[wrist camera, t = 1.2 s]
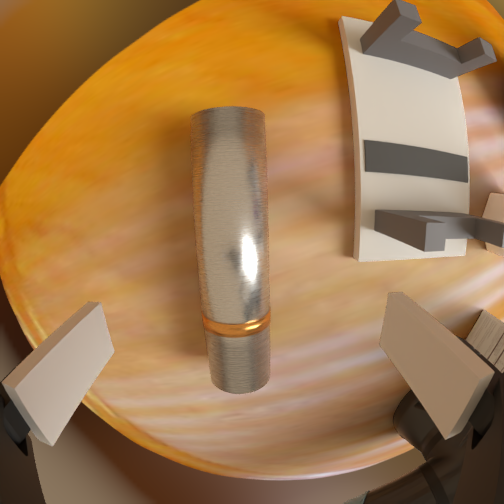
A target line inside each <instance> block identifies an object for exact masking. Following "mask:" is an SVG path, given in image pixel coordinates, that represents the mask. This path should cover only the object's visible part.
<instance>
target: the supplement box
mask: <svg viewBox="0 0 504 504" xmlns="http://www.w3.org/2000/svg"><path fill="white" fill-rule="evenodd" d="M466 341H467V342H468V343H469V344H471V345H472V346H473V347H474V349H476V350H477V351H479V352H480V354H482V355H483V356H484V357H485V358H486V359H487V360H489V361H490V362H491V363H492V364H493V365H494V366H495V367H496V368H497V369H498V370H499V371H500V372H501V373H503V372H504V323H503V322H502V321H500V320H499V319H497V318H496V317H494V316H493V315H491V314H490V313H488V312H487V311H485V310H483V311H482V313H481V315H480V317H479V318H478V320H477V322H476V323H475V325H474V327H473V328H472V330H471V332H470V333H469V335H468V337H467V338H466Z"/></svg>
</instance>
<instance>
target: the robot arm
mask: <svg viewBox="0 0 504 504" xmlns="http://www.w3.org/2000/svg"><path fill="white" fill-rule="evenodd" d="M379 345H380V346H381V348H382V349H383V350H384V352H385V353H386V354H387V356H388V357H389V358H390V360H391V361H392V363H393V364H394V365H395V367H396V368H397V369H398V371H399V372H400V374H401V375H402V376H403V378H404V379H405V381H406V382H407V384H408V385H409V386H410V388H411V389H412V390H411V391H410V392H409V393H408V394H407V395H406V396H405V398H404V399H403V400H402V402H401V403H400V404H399V406H398V408H397V410H396V412H395V414H394V418H393V424H394V426H395V428H396V430H397V432H398V434H399V435H400V436H401V437H402V438H404V439H406V440H407V441H408V442H409V443H410V444H411V445H413V446H414V447H415V448H416V449H418V450H419V451H420V452H421V453H422V455H423V456H424V458H425V460H426V463H424V464H422V465H420V466H419V467H417V468H415V469H414V470H412V471H410V472H408V473H406V474H405V475H403V476H401V477H399V478H397V479H395V480H393V481H391V482H389V483H387V484H385V485H382V486H380V487H378V488H376V489H373V490H371V491H366V492H365V493H364V494H362V495H360V496H358V497H356V498H353V499H351V500H348V501H346V502H344V503H343V504H504V372H503V373H501V372H500V371H499V370H498V369H497V368H496V367H495V366H494V365H493V364H492V363H491V362H490V361H489V360H487V359H486V358H485V357H484V356H483V355H482V354H480V352H479V351H477V350H476V349H474V347H473V346H472V345H471V344H469V343H468V342H467V341H466V340H464V339H462V338H460V337H458V336H455V335H454V334H453V333H451V332H450V331H449V330H448V329H447V328H446V327H444V326H443V325H442V324H441V323H440V322H439V321H437V320H436V319H435V318H434V317H433V316H431V315H430V314H429V313H428V312H427V311H425V310H424V309H423V308H422V307H420V306H419V305H418V304H417V303H415V302H414V301H413V300H412V299H410V298H409V297H408V296H407V295H405V294H404V293H403V292H394V293H388V298H387V305H386V311H385V317H384V322H383V327H382V332H381V337H380V342H379ZM114 352H115V351H114V348H113V345H112V341H111V338H110V334H109V331H108V327H107V324H106V320H105V316H104V312H103V308H102V304H101V302H88V303H86V304H85V305H84V306H83V307H82V308H80V309H79V310H78V311H77V312H76V313H75V314H74V315H72V316H71V317H70V318H69V319H68V320H67V321H66V322H64V323H63V324H62V325H61V326H60V327H59V328H58V329H57V330H55V331H54V332H53V333H52V334H51V335H50V336H49V337H48V338H47V339H46V340H44V341H43V342H42V343H41V344H40V345H39V346H38V347H37V348H36V349H35V350H34V351H33V352H31V353H30V354H28V355H27V356H26V357H25V358H24V359H23V361H22V362H20V363H19V364H18V365H17V367H15V368H14V369H13V370H12V371H11V372H10V373H9V374H8V375H7V376H6V377H5V378H4V379H3V380H2V381H1V382H0V504H46V503H45V500H44V496H43V493H42V489H41V485H40V481H39V477H38V473H37V469H36V464H35V459H34V453H33V447H32V441H31V438H30V437H29V435H28V433H29V431H30V430H32V432H33V433H34V435H35V436H36V437H37V438H38V440H40V441H42V442H44V443H46V444H48V445H51V446H53V445H54V444H55V442H56V440H57V439H58V437H59V435H60V434H61V432H62V430H63V429H64V427H65V425H66V424H67V422H68V421H69V419H70V417H71V416H72V414H73V413H74V411H75V410H76V408H77V407H78V405H79V404H80V402H81V400H82V399H83V397H84V396H85V394H86V393H87V391H88V390H89V388H90V387H91V385H92V384H93V382H94V381H95V379H96V378H97V376H98V375H99V374H100V372H101V371H102V369H103V368H104V366H105V365H106V363H107V362H108V361H109V359H110V358H111V356H112V355H113V353H114Z"/></svg>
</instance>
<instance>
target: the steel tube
mask: <svg viewBox="0 0 504 504" xmlns="http://www.w3.org/2000/svg"><path fill="white" fill-rule="evenodd" d="M191 164H192V189H193V209H194V225H195V239H196V252H197V264H198V275H199V286H200V295H201V305H202V319H203V326H204V330H205V338H206V346H207V353H208V360H209V367H210V374H211V380H212V382H213V384H214V385H215V386H216V387H217V388H219V389H220V390H223V391H225V392H228V393H234V394H244V393H250V392H253V391H256V390H258V389H260V388H262V387H263V386H264V385H265V384H266V383H267V382H268V381H269V378H270V283H269V229H268V190H267V159H266V132H265V114H264V113H263V112H262V111H260V110H257V109H253V108H247V107H217V108H211V109H206V110H202V111H199V112H197V113H195V114H193V115H192V116H191Z"/></svg>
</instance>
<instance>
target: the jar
mask: <svg viewBox="0 0 504 504" xmlns="http://www.w3.org/2000/svg"><path fill="white" fill-rule="evenodd" d="M482 218H486V219H491V220H495V221H499V222H503V223H504V194H499V193H490V195H489V198H488V201H487V204H486V207H485V210H484V213H483V216H482ZM485 244H486V249H487V251H489V252H492V253H494V254H497V255H499V256H502V257H504V248H501V247H498V246H495V245H492V244H490V243H487V242H485Z"/></svg>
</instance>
